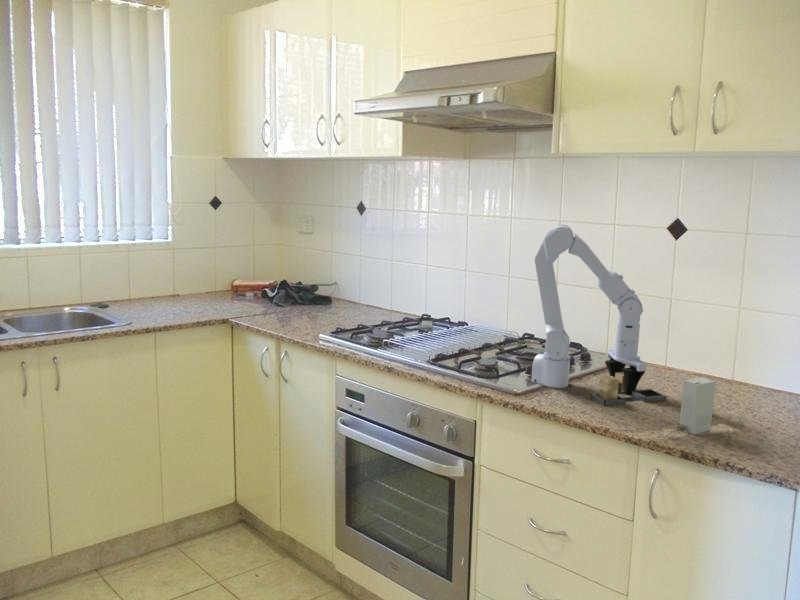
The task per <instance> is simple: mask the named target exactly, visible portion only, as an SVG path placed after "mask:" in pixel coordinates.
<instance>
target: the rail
mask: <svg viewBox="0 0 800 600" xmlns="http://www.w3.org/2000/svg"><path fill="white" fill-rule="evenodd" d="M590 399H591V400H593V401H595V402H597V404H600V405H602V406H604V407H607V406H610V407H611V406H618V405H626V403H630V402H641V401H642V402H643V403H654V402H655V403H656V402H666V400H667V396H666V395H665V394H662V393H660V392H658V391H656V390H654V389H652V388H646V389H635V390H632V391H631V394H630V396H627V397H622V396H619V395H618V396H617V399H616V400H604V399H602V398H600V397H599V392H595V393H590Z"/></svg>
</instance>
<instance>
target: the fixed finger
mask: <svg viewBox="0 0 800 600" xmlns="http://www.w3.org/2000/svg"><path fill="white" fill-rule="evenodd" d="M618 384H619V379H617V378H615V377H613V376H610V375H606V376H600V377H599V389H598V390H599V392H598V393H599V397H600V398H602V399H604V400H616V399H617V396H619V395H622V392H621V389H622V387H621V386H619V385H618Z"/></svg>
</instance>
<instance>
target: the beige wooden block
mask: <svg viewBox="0 0 800 600" xmlns="http://www.w3.org/2000/svg"><path fill="white" fill-rule="evenodd" d="M615 378H617V379H619V384H618V385H619V386H621V387H622V389H621V393H626V392H625V376H624V372H617V373H615Z"/></svg>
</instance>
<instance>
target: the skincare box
mask: <svg viewBox="0 0 800 600" xmlns="http://www.w3.org/2000/svg"><path fill="white" fill-rule="evenodd" d="M682 385H683V387H682V396H681V406H680V411H679V412H680V415H679V420H678V421H679V422H678V423H679V424H680V425H682V426H678V429H679V430H680V431H682V430H683V431H682V432H684V431H686V432H685V433H687V432H688V433H687V434H689V433H690V435H697V434H702V433H707V432H709V431H711V427H712V419H713V410H714V401H715V392H716V385H717V382H716V381H715V380H713V379H710V378H709V379H708V378H705V377H701V376H700V377H695V378H689V379H684V381H683V384H682Z"/></svg>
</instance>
